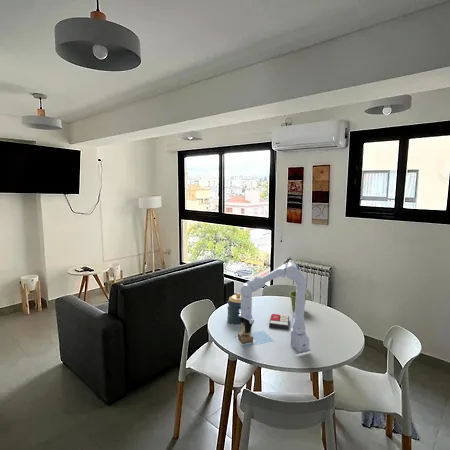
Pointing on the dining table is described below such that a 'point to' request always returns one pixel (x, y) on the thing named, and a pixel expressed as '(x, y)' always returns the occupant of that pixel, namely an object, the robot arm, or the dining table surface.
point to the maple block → (244, 329)
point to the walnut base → (245, 338)
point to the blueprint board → (257, 339)
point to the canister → (234, 309)
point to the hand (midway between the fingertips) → (245, 330)
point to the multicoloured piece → (279, 321)
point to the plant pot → (293, 299)
